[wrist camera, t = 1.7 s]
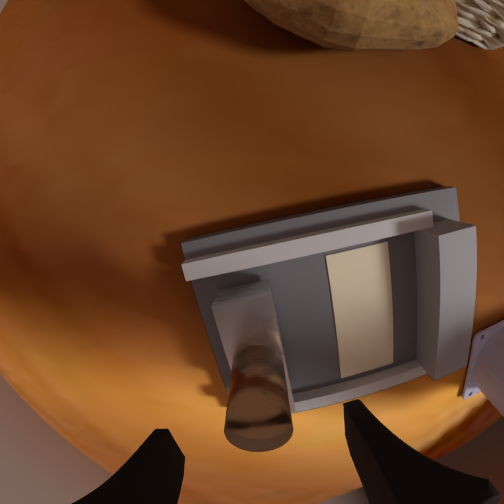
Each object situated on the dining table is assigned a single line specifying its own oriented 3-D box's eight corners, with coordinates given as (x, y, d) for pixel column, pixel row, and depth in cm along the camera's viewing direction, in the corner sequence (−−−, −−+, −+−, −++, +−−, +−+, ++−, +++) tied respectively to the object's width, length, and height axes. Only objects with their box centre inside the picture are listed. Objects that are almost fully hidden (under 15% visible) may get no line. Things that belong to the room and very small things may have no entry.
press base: (443, 186, 17) (483, 189, 13) (445, 353, 20) (472, 381, 16) (186, 238, 18) (166, 255, 14) (239, 409, 21) (236, 450, 17)
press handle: (268, 279, 17) (277, 348, 10) (291, 387, 19) (305, 474, 11) (217, 289, 17) (192, 362, 10) (248, 395, 19) (245, 482, 11)
